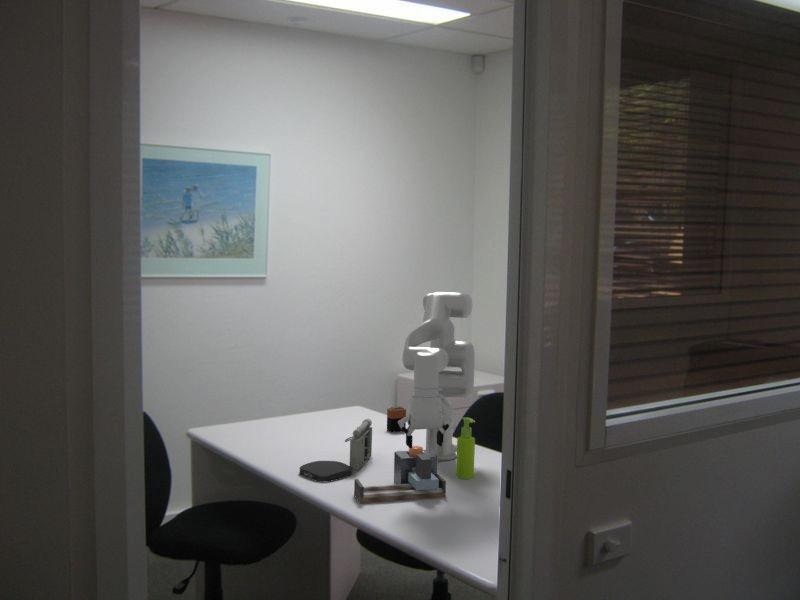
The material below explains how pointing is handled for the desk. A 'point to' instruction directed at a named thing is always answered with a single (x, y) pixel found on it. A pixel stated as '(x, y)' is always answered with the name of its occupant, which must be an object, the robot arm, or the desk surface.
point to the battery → (395, 418)
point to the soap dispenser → (465, 451)
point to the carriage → (423, 474)
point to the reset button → (415, 451)
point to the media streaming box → (325, 470)
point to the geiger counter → (360, 445)
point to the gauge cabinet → (409, 465)
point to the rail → (396, 492)
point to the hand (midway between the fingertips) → (424, 446)
